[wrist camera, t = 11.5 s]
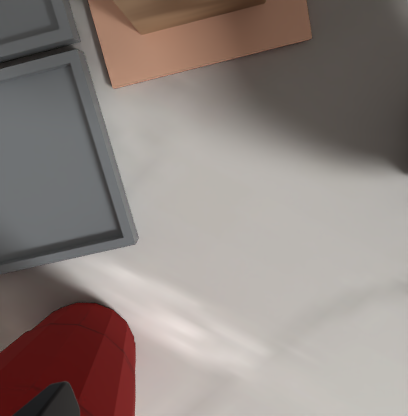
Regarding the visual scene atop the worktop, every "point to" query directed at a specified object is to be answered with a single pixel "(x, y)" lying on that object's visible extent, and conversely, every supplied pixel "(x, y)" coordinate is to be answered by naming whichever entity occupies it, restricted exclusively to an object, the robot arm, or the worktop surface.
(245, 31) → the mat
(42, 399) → the robot arm
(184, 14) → the cardboard box
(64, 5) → the tray
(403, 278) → the worktop surface
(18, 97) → the tray
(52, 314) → the plastic cup
